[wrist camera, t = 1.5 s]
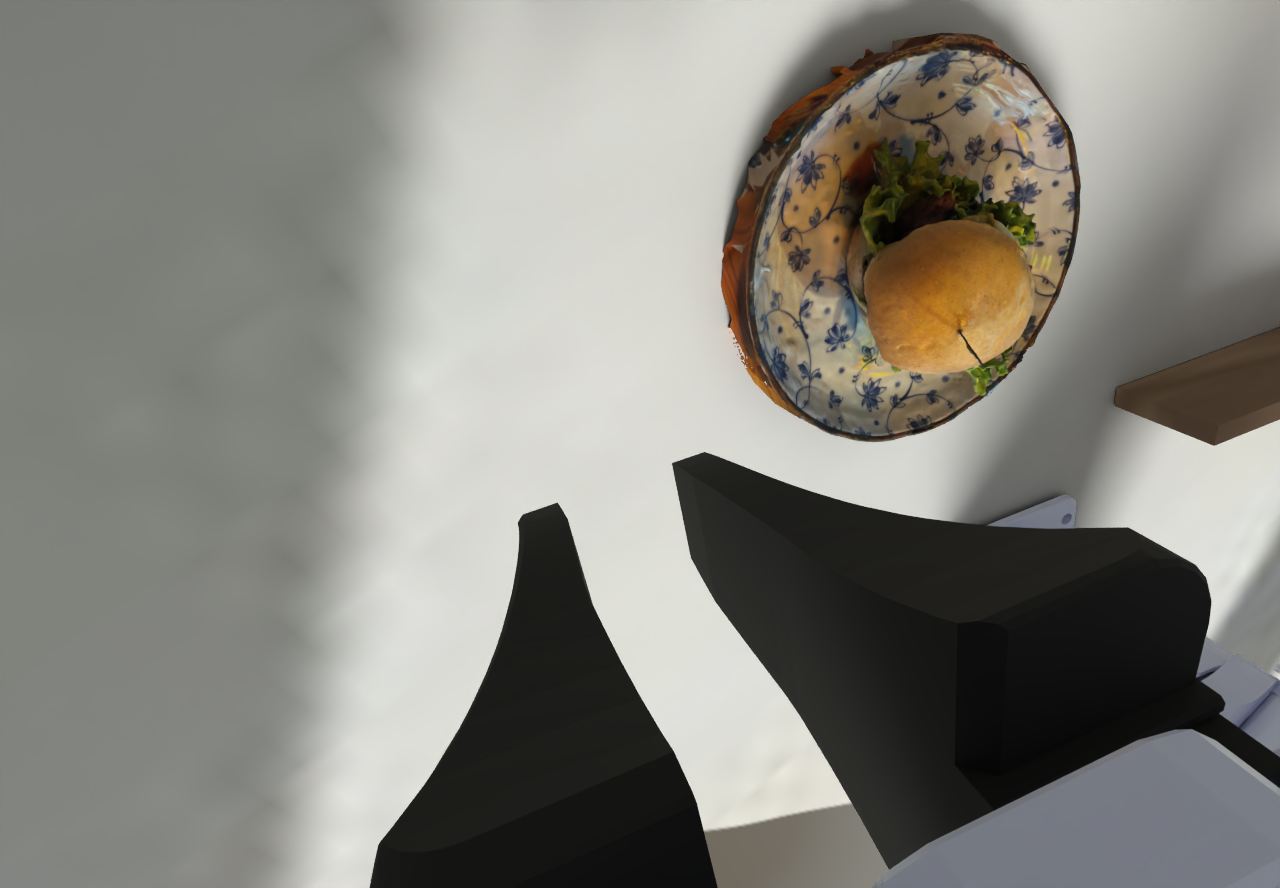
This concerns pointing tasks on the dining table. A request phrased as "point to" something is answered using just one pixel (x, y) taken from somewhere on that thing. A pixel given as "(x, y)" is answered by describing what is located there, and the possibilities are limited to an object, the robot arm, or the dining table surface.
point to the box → (1213, 391)
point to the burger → (902, 237)
